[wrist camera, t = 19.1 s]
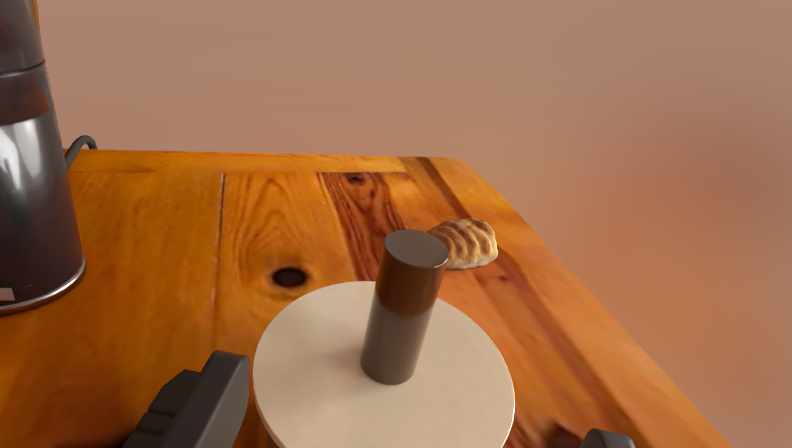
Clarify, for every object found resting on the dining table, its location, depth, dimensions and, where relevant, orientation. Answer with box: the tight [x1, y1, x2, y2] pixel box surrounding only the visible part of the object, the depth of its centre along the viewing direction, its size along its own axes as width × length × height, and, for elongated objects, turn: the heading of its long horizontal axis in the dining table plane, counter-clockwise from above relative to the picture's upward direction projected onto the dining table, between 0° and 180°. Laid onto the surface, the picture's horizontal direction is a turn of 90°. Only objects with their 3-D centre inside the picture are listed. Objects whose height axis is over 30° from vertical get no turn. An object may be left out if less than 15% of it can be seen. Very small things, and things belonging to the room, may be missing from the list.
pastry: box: [426, 217, 498, 269], centre depth 50 cm, size 9×7×4 cm
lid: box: [252, 230, 515, 448], centre depth 23 cm, size 14×14×9 cm
